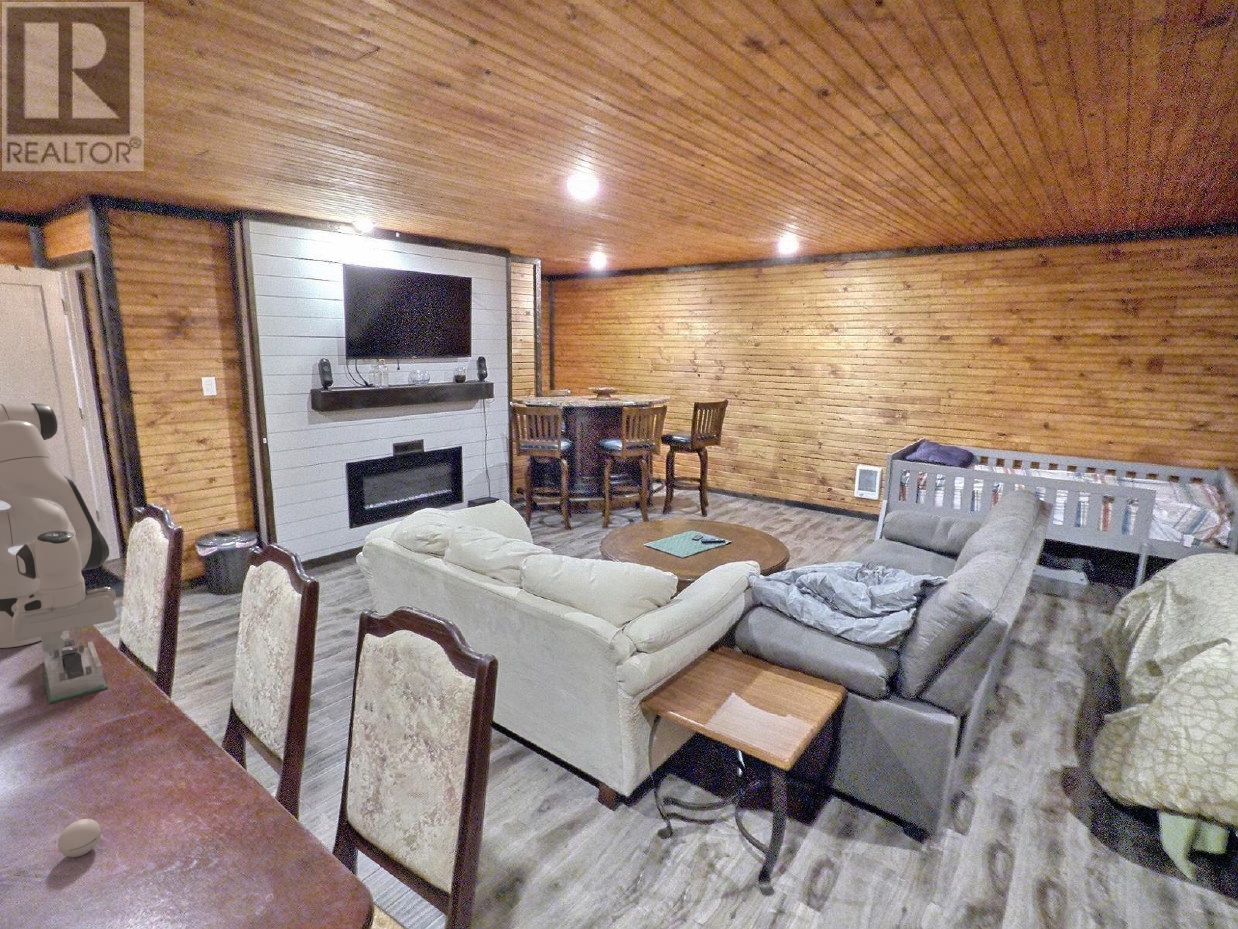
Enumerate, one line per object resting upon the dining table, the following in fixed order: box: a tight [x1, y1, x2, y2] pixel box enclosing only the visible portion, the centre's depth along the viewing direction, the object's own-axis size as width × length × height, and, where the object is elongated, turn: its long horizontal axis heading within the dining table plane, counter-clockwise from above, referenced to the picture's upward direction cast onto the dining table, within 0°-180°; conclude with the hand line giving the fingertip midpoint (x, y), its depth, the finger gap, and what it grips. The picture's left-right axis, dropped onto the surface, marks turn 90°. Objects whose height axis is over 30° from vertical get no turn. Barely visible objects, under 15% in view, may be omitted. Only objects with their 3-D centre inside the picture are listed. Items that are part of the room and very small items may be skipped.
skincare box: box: [41, 630, 72, 656], centre depth 173 cm, size 6×4×12 cm
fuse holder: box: [42, 640, 108, 705], centre depth 162 cm, size 21×11×7 cm, turn 45°
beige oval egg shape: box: [57, 818, 117, 858], centre depth 107 cm, size 8×6×6 cm
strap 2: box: [64, 653, 84, 678], centre depth 158 cm, size 8×3×1 cm, turn 45°
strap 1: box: [61, 647, 79, 655], centre depth 165 cm, size 8×3×1 cm, turn 45°
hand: (69, 645), depth 163 cm, fingers closed
